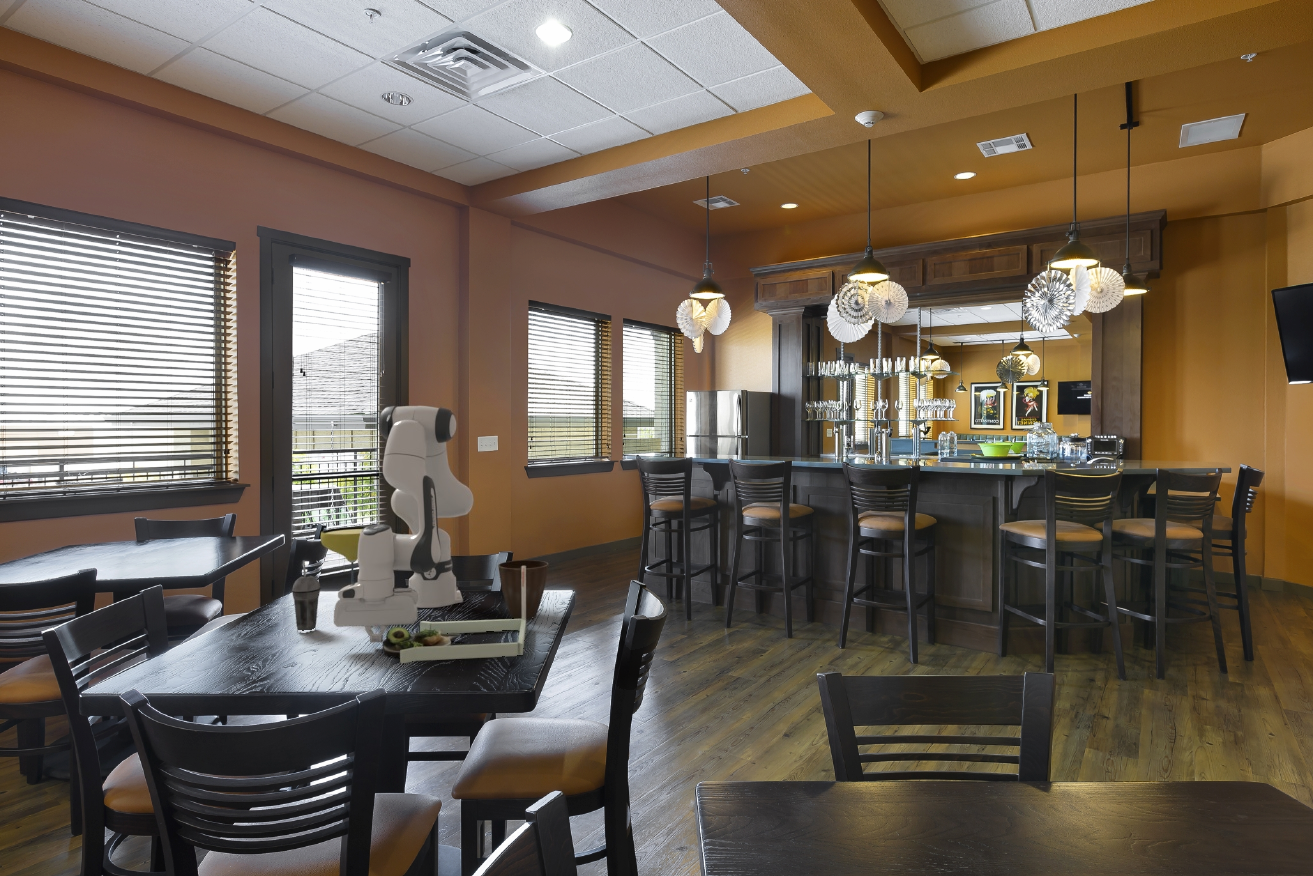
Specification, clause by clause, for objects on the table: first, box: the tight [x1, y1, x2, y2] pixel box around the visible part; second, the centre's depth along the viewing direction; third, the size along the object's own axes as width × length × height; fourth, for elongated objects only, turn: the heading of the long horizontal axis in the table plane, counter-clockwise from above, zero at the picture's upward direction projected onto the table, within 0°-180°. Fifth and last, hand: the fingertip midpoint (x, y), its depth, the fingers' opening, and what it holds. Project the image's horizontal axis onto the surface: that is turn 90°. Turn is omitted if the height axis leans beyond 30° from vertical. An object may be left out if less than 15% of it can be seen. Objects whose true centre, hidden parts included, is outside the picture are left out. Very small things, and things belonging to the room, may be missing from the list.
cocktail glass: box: [320, 526, 367, 585], centre depth 223 cm, size 18×18×25 cm
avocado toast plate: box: [382, 626, 461, 658], centre depth 184 cm, size 19×18×5 cm
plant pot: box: [497, 559, 549, 620], centre depth 213 cm, size 15×15×16 cm
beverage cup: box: [291, 560, 322, 631], centre depth 199 cm, size 7×7×20 cm
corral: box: [399, 566, 527, 664], centre depth 186 cm, size 28×29×18 cm
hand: (376, 642), depth 182 cm, fingers closed
